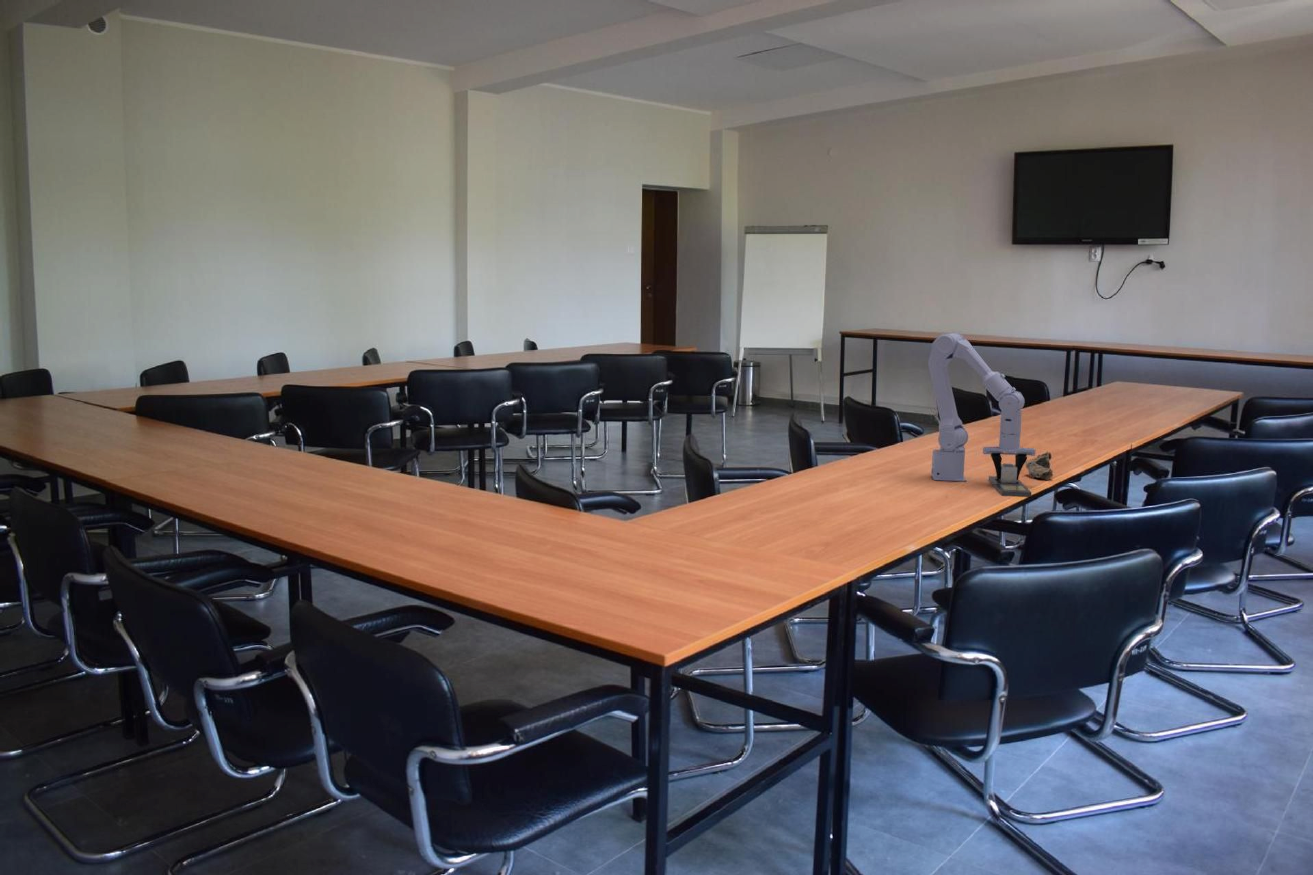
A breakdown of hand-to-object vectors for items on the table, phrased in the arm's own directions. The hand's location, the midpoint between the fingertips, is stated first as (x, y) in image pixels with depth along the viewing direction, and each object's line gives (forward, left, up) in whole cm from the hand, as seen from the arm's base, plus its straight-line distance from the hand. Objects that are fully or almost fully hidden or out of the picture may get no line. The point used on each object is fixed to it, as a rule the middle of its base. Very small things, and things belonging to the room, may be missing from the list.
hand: (1007, 478), depth 305 cm
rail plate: (0, -3, -2) cm, 4 cm away
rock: (+12, +14, -2) cm, 19 cm away
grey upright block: (0, 0, -2) cm, 2 cm away
